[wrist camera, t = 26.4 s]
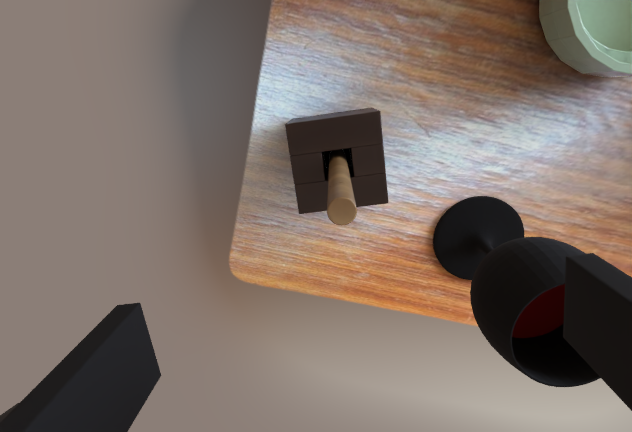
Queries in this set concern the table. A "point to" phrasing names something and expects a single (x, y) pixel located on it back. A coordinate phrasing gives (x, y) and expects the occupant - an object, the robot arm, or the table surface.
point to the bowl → (590, 34)
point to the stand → (334, 134)
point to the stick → (340, 190)
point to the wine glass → (513, 288)
